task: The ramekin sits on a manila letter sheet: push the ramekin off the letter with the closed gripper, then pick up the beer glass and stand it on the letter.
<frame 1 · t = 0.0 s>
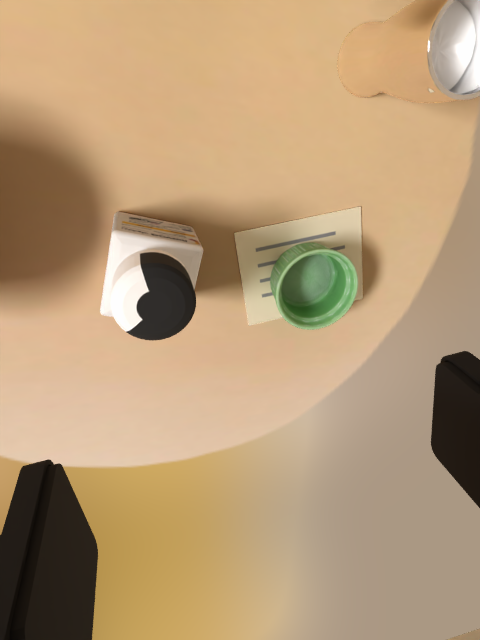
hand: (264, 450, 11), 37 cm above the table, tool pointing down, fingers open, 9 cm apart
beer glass: (366, 61, 42), on the table
container: (148, 254, 46), on the table
letter: (302, 267, 50), on the table
ramekin: (303, 275, 51), resting on letter
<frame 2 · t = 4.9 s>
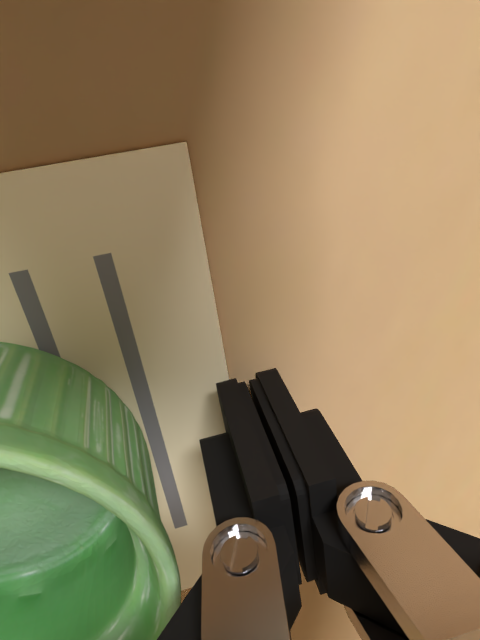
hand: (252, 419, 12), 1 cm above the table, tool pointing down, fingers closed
letter: (32, 456, 12), on the table
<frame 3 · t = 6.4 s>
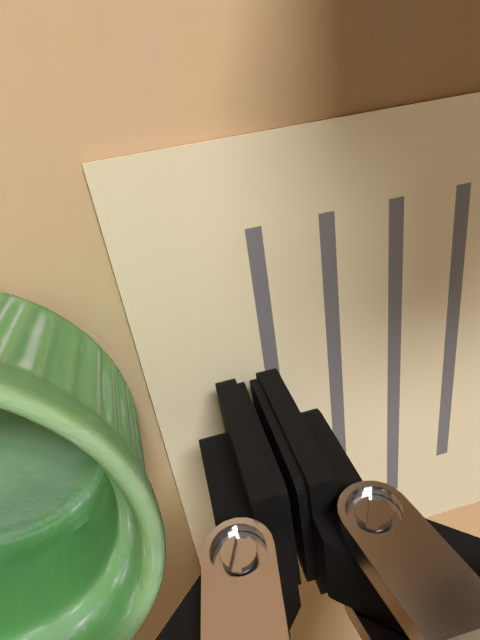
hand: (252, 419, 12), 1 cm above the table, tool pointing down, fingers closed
letter: (347, 378, 13), on the table
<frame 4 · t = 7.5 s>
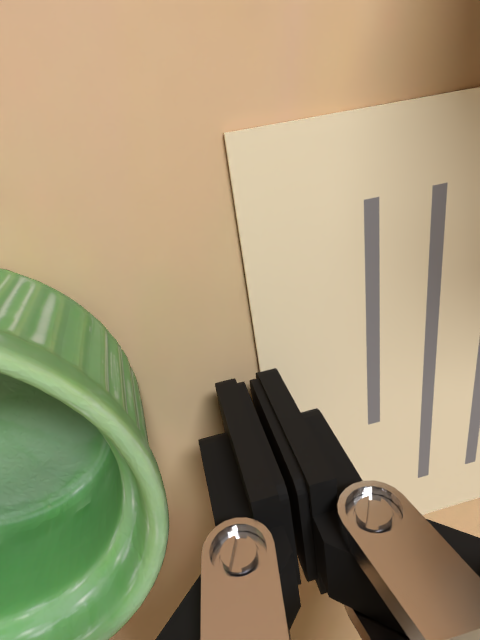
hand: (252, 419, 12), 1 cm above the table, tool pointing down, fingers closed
letter: (440, 350, 13), on the table
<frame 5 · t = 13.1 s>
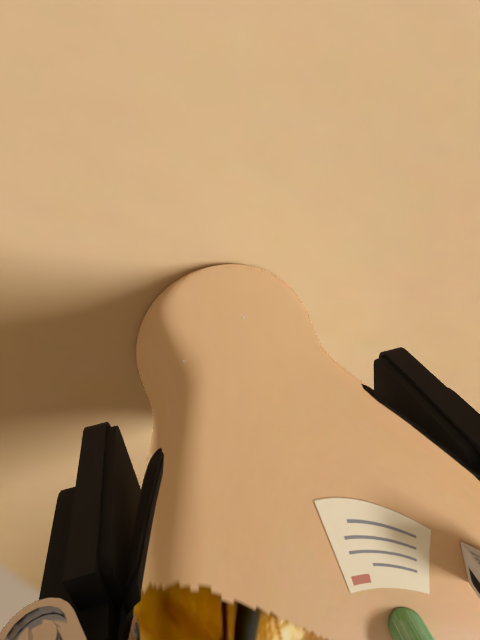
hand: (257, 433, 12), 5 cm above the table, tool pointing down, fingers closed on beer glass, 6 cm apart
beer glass: (224, 343, 16), on the table, touching gripper
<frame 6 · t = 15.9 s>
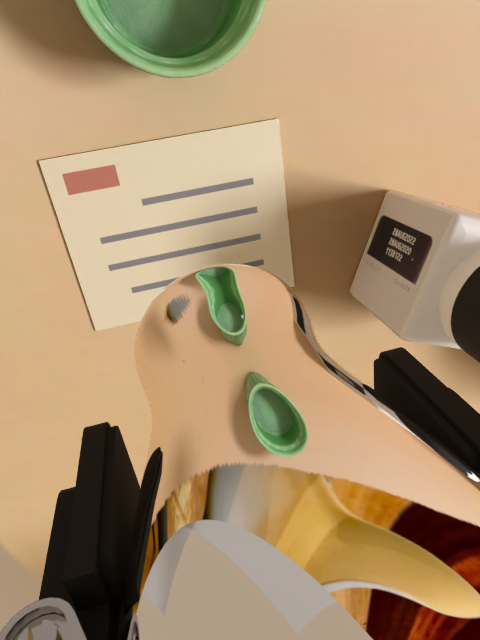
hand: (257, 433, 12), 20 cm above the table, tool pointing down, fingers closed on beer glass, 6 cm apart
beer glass: (223, 342, 16), point 15 cm above the table, touching gripper
container: (409, 252, 33), on the table
letter: (181, 230, 29), on the table
when the fingers open (6 cm above the table, at t = 19.0 s): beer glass stays where it is, resting on letter.
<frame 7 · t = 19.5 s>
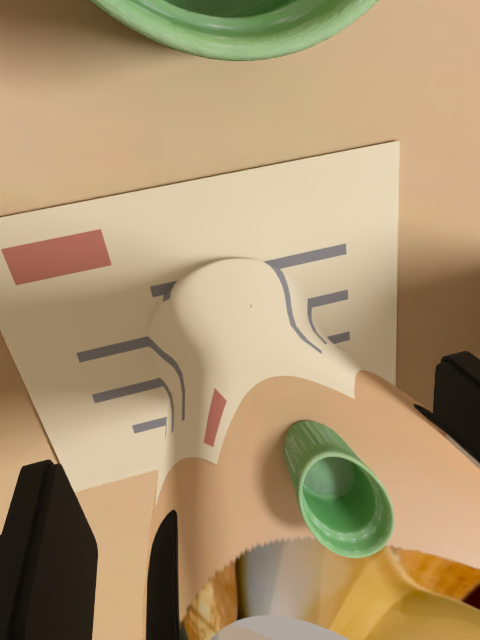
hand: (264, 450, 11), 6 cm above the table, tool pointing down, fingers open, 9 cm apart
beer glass: (231, 333, 17), resting on letter
letter: (219, 333, 17), on the table
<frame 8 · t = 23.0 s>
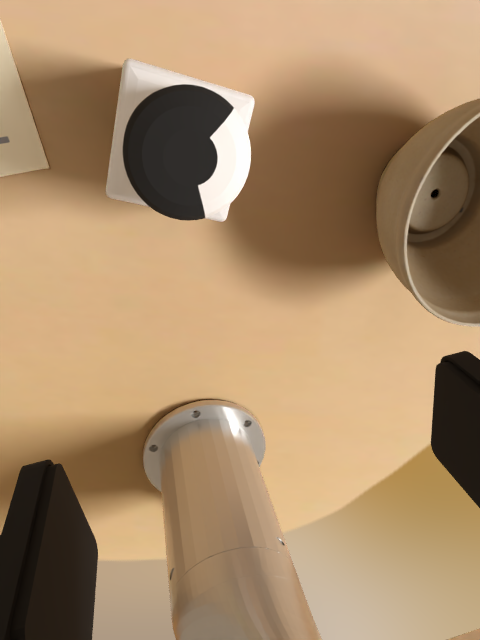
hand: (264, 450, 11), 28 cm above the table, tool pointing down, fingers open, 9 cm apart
planter bowl: (422, 191, 40), on the table
container: (169, 138, 34), on the table
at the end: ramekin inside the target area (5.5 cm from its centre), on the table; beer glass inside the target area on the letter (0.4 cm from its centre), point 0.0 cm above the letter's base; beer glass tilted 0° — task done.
